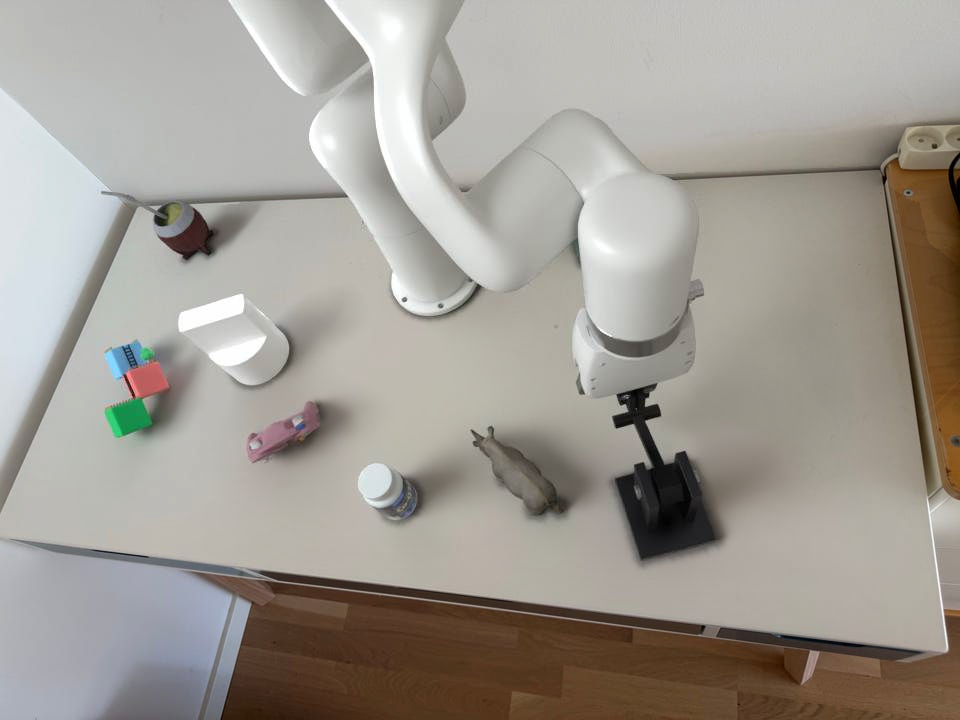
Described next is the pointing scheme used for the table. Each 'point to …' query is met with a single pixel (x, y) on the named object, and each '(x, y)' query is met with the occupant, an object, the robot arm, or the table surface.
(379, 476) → the pill bottle
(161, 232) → the mate gourd
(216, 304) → the white rounded block
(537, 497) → the rhino figurine
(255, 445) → the pink toy car
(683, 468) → the bracket
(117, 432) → the building blocks
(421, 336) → the table surface
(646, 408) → the lever
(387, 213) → the robot arm
